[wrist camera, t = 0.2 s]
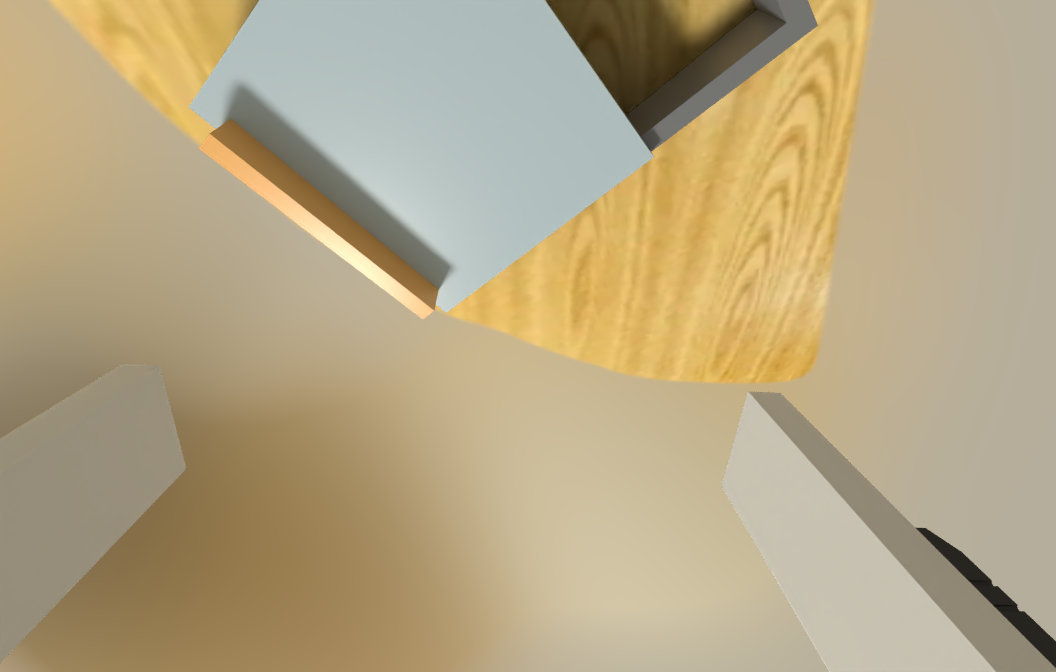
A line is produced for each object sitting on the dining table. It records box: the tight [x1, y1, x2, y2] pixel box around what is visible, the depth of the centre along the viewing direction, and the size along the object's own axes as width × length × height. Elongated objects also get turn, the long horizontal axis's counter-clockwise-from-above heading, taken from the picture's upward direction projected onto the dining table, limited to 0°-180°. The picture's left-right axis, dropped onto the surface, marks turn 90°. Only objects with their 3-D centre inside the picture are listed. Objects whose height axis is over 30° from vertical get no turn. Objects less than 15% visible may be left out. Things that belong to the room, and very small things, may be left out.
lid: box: [189, 0, 654, 319], centre depth 28 cm, size 18×20×3 cm
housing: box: [626, 0, 818, 151], centre depth 29 cm, size 29×20×4 cm
